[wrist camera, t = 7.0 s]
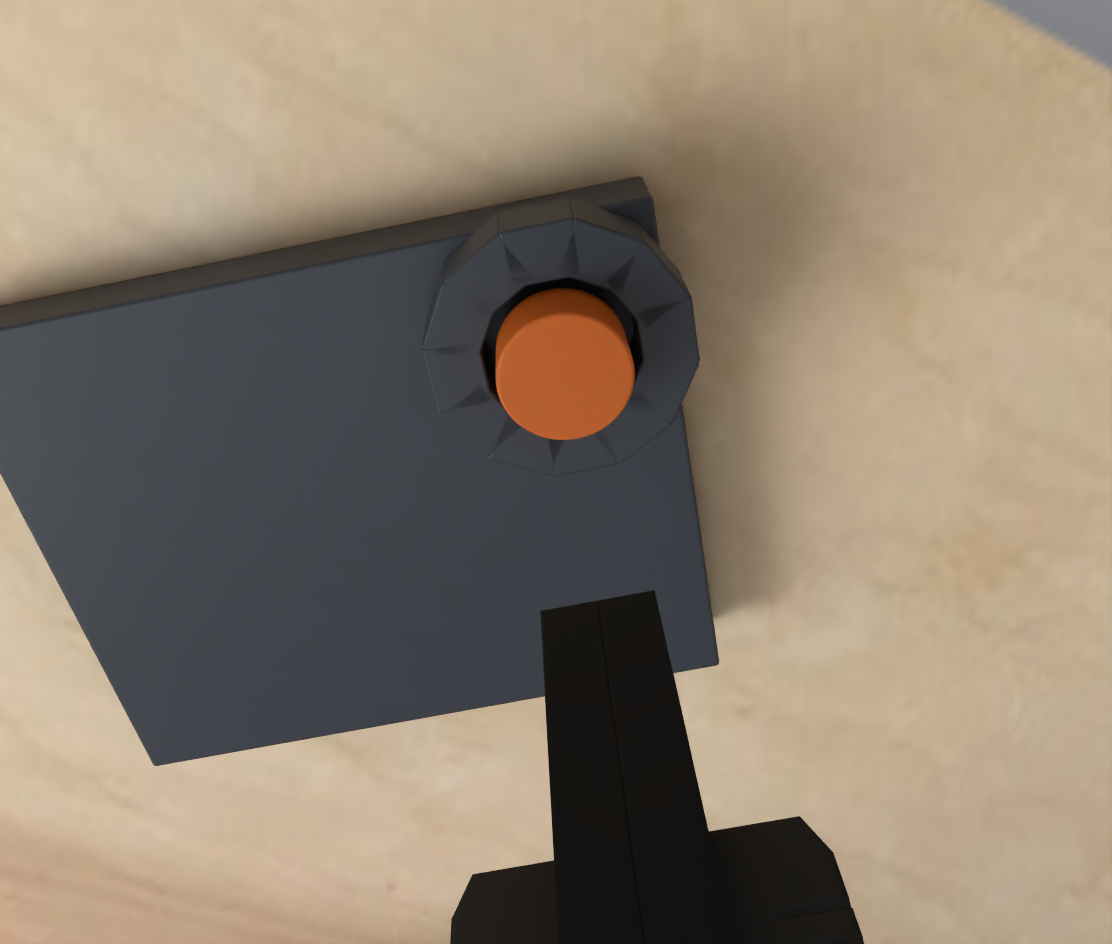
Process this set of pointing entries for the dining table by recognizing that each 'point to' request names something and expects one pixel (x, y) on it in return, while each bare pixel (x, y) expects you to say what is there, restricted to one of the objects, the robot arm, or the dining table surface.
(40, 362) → the scale
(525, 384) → the button
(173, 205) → the dining table surface
